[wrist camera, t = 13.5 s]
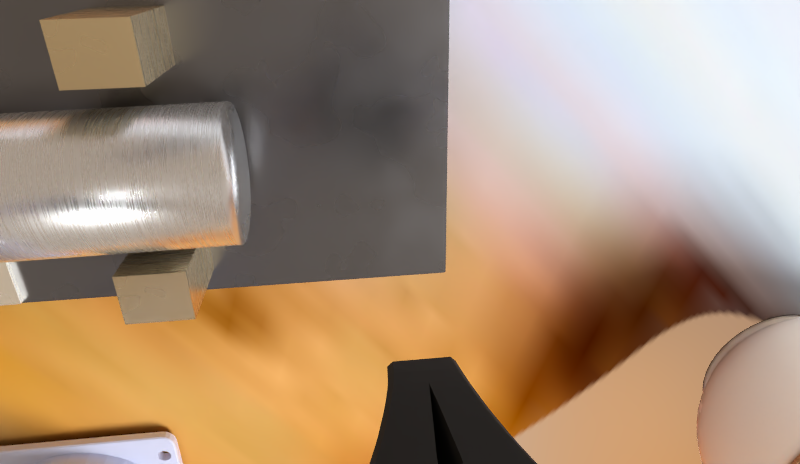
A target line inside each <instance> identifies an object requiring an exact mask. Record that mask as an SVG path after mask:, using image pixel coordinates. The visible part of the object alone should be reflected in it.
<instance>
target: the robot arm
mask: <svg viewBox="0 0 800 464" xmlns="http://www.w3.org/2000/svg"><path fill="white" fill-rule="evenodd" d="M387 369H388V390H387V397H386V403H385V409H384V414H383V418H382V422H381V426H380V431H379V435H378V439H377V442H376V446H375V449H374V452H373V455H372V458H371V461H370V464H537V463H536V462H535V461H534V460H533V459H532V458H531V457H530V456H529V455H528V454H527V453H526V451H525V450H524V449H523V448H522V447H521V446H520V445H519V444H518V443H517V442H516V441H515V439H514V438H513V437H512V436H511V435H510V434H509V433H508V431H507V430H506V429H505V428H504V427H503V425H502V424H501V423H500V422H499V420H498V419H497V418H496V417H495V416H494V414H493V413H492V412H491V411H490V409H489V408H488V407H487V406H486V404H485V403H484V402H483V400H482V399H481V398H480V396H479V395H478V394H477V392H476V391H475V390H474V388H473V387H472V385H471V384H470V383H469V381H468V380H467V378H466V377H465V375H464V374H463V372H462V371H461V369H460V368H459V366H458V364H457V363H456V361H455V360H454V359H452V358H451V357H443V358H431V359H420V360H408V361H396V362H392V363H391V364H390V365H389V366H388V367H387ZM162 451H167V452H169V453H164V452H162ZM0 464H183V462H182V458H181V454H180V450H179V447H178V443H177V439H176V437H175V436H174V435H173V434H171V433H169V432H163V431H161V432H150V433H139V434H128V435H118V436H107V437H96V438H85V439H74V440H63V441H52V442H41V443H30V444H19V445H8V446H0Z"/></svg>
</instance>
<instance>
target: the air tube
mask: <svg viewBox="0 0 800 464" xmlns="http://www.w3.org/2000/svg"><path fill="white" fill-rule="evenodd" d="M250 213H251V194H250V177H249V167H248V159H247V152H246V146H245V140H244V135H243V131H242V127H241V123H240V120H239V117H238V114H237V111H236V109H235V107H234V105H233V104H232V103H231V102H230V101H225V102H206V103H187V104H169V105H150V106H132V107H113V108H94V109H76V110H57V111H39V112H20V113H1V114H0V263H3V262H16V261H30V260H44V259H57V258H71V257H85V256H98V255H112V254H125V253H139V252H153V251H166V250H180V249H194V248H207V247H221V246H235V245H243V244H244V243H245V242H246V240H247V237H248V233H249V226H250Z"/></svg>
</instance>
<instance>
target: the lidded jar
mask: <svg viewBox="0 0 800 464" xmlns="http://www.w3.org/2000/svg"><path fill="white" fill-rule="evenodd" d="M697 439H698V447H699V451H700V456H701V461H702V464H800V316H798V315H789V316H780V317H775V318H771V319H768V320H765V321H762V322H759V323H757V324H755V325H753V326H751V327H749V328H747V329H746V330H744V331H742V332H740V333H739V334H738V335H736V336H735V337H734V338H732V339H731V340H730V341H729V342H728V343H727V344H726V345H725V346H723V347H722V349H721V350H720V351H719V352H718V353H717V354H716V356H715V357H714V359H713V360H712V362H711V363H710V365H709V367H708V369H707V372H706V374H705V378H704V381H703V394H702V397H701V401H700V405H699V409H698V417H697Z"/></svg>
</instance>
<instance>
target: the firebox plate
mask: <svg viewBox="0 0 800 464" xmlns="http://www.w3.org/2000/svg"><path fill="white" fill-rule="evenodd" d="M448 59H449V0H0V114H1V113H20V112H39V111H57V110H76V109H94V108H113V107H132V106H150V105H169V104H187V103H206V102H225V101H230V102H231V103H232V104H233V105H234V107H235V109H236V111H237V114H238V117H239V120H240V123H241V127H242V131H243V135H244V140H245V146H246V152H247V159H248V167H249V177H250V194H251V213H250V226H249V233H248V237H247V240H246V242H245V243H244V244H243V245H235V246H221V247H207V248H194V249H180V250H166V251H153V252H139V253H125V254H112V255H98V256H85V257H71V258H57V259H44V260H30V261H16V262H3V263H0V305H13V304H21V303H25V302H39V301H53V300H67V299H81V298H95V297H109V296H117V297H118V300H119V304H120V307H121V311H122V314H123V318H124V321H125V324H137V323H150V322H163V321H177V320H190V319H196V316H197V314H198V311H199V308H200V306H201V303H202V300H203V297H204V295H205V292H206V289H220V288H234V287H248V286H261V285H275V284H289V283H303V282H317V281H331V280H345V279H359V278H373V277H386V276H400V275H414V274H428V273H442V272H445V264H446V196H447V128H448Z"/></svg>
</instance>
